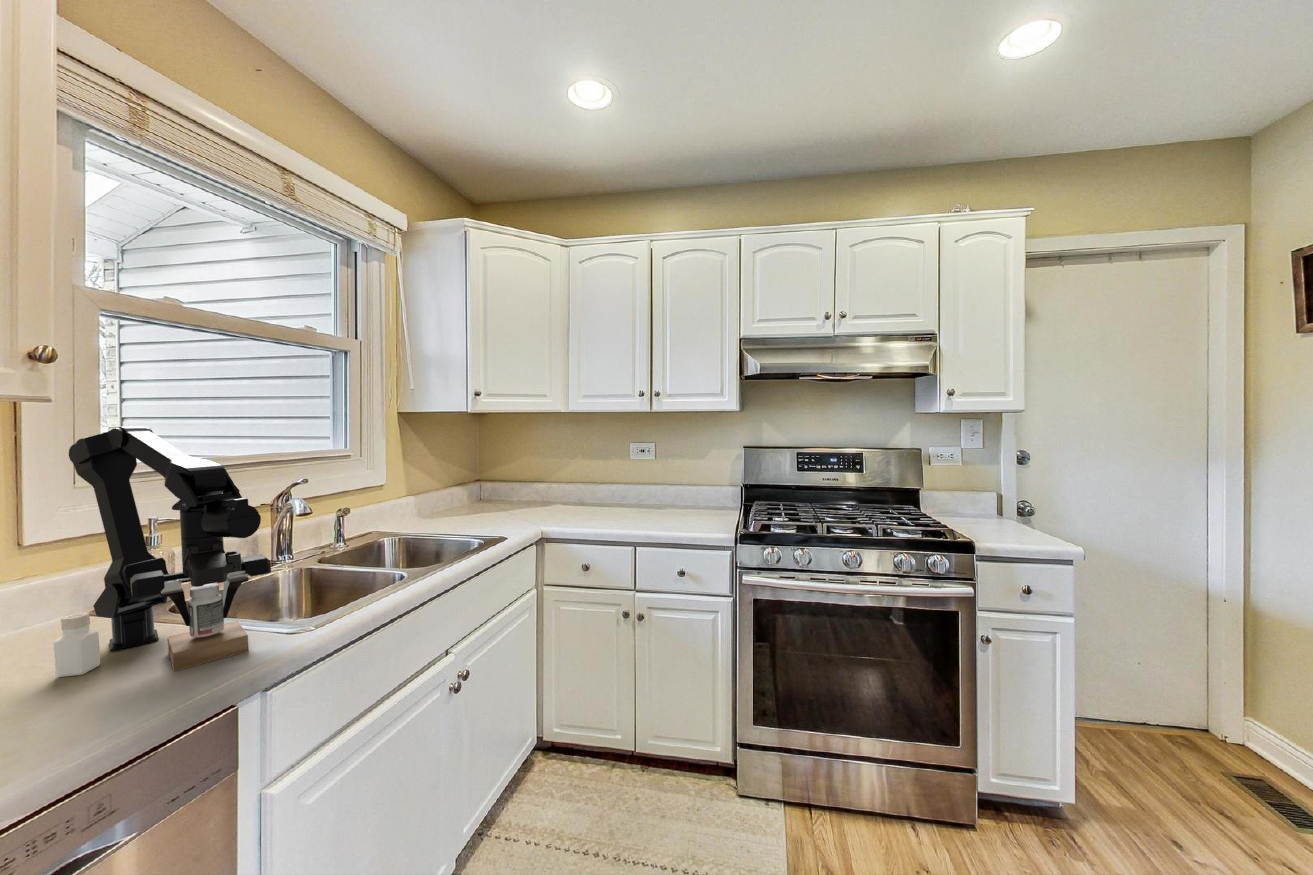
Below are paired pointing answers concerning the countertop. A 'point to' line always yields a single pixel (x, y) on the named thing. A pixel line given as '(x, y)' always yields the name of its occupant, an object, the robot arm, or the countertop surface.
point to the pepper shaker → (76, 646)
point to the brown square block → (207, 646)
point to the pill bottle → (205, 611)
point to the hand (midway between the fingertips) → (206, 621)
